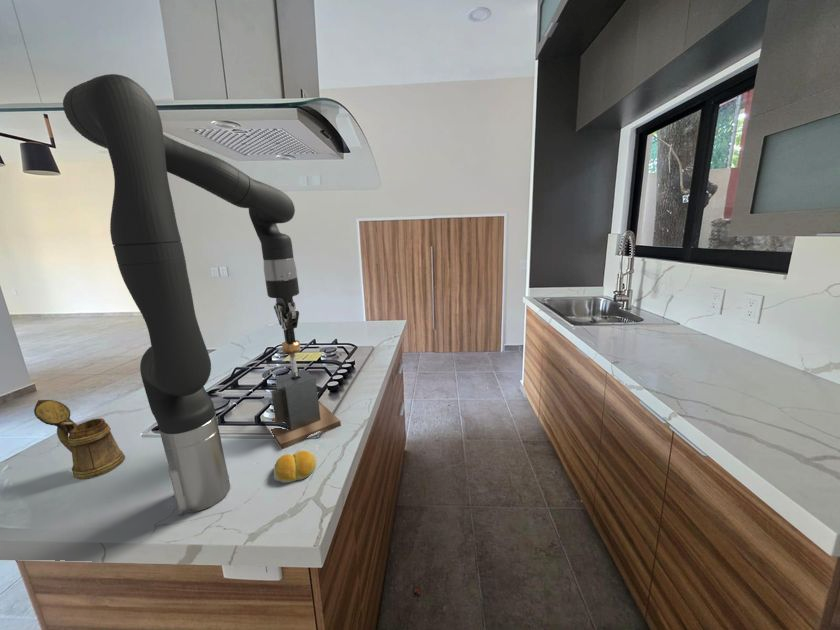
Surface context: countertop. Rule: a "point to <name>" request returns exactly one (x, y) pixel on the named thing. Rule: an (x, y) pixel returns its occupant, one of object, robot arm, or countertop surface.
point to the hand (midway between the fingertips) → (290, 342)
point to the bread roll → (294, 466)
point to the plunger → (292, 355)
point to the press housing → (296, 400)
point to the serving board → (305, 429)
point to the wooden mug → (82, 440)
